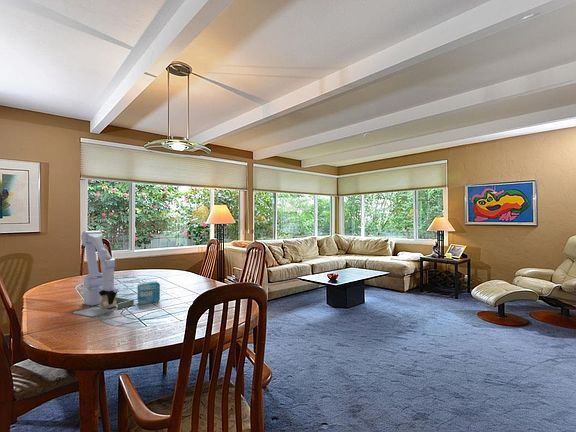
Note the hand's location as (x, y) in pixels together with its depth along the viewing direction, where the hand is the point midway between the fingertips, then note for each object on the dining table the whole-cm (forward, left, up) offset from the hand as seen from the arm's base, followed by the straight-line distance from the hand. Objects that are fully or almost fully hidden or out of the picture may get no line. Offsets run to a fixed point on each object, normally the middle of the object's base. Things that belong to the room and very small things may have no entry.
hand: (108, 303), depth 180 cm
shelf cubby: (0, +5, -2) cm, 6 cm away
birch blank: (0, 0, -2) cm, 2 cm away
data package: (+12, +18, -3) cm, 22 cm away
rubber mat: (0, -9, -2) cm, 9 cm away
